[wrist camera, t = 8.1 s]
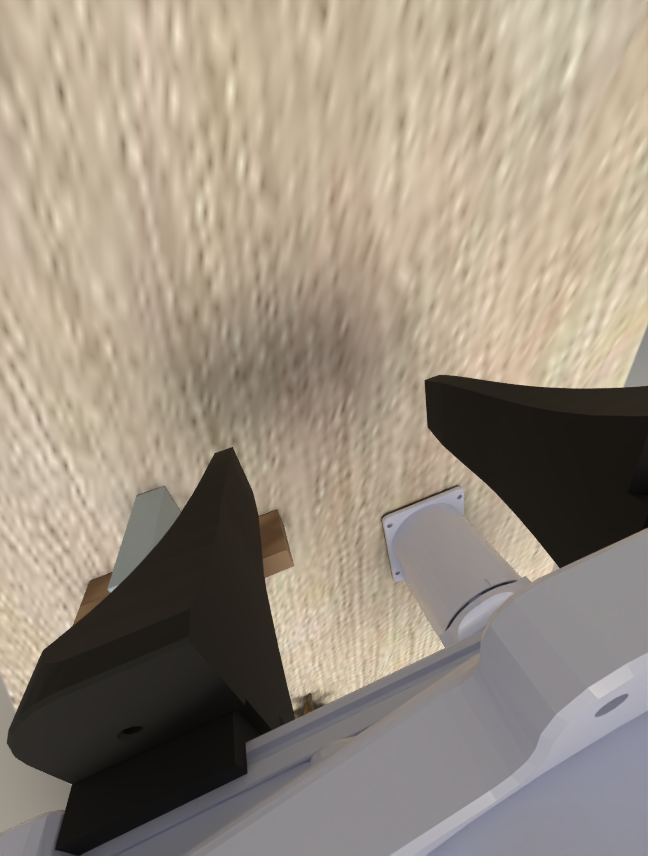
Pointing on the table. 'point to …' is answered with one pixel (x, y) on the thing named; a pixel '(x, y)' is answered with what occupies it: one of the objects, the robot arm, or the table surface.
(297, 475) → the table surface
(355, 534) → the table surface
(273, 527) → the walnut rail
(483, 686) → the robot arm
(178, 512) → the pale blue prism block
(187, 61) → the table surface
